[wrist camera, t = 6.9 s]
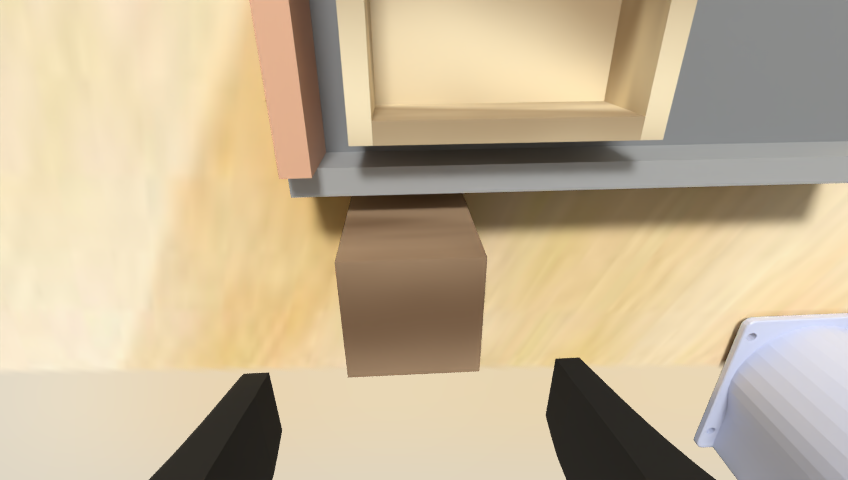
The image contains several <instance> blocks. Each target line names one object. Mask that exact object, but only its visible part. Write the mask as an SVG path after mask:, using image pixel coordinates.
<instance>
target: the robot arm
mask: <svg viewBox="0 0 848 480" xmlns="http://www.w3.org/2000/svg"><path fill="white" fill-rule="evenodd" d="M546 418H547V422H548V426H549V429H550V433H551V437H552V440H553V444H554V447H555V451H556V454H557V457H558V460H559V462H560V465H561V467H562V469H563V472H564V475H565V477H566V480H716V479H714V478H713V477H712V476H710V475H709V474H708V473H707V472H705V471H704V470H703V469H702V468H700V467H699V466H698V465H696V464H695V463H694V462H693V461H692V460H690V459H689V458H688V457H687V456H685V455H684V454H683V453H682V452H681V451H680V450H678V449H677V448H676V447H675V446H674V445H672V444H671V443H670V442H669V441H668V440H667V439H665V438H664V437H663V436H662V435H661V434H660V433H659V432H657V431H656V430H655V429H654V428H653V427H652V426H651V425H649V424H648V423H647V422H646V421H645V420H644V419H643V418H642V417H641V416H640V415H638V414H637V413H636V412H635V411H634V410H633V409H632V408H631V407H630V406H629V405H628V404H627V403H625V402H624V400H622V399H621V398H620V397H619V396H618V395H617V394H616V393H615V392H614V391H613V390H612V389H611V388H610V387H609V386H608V385H607V384H606V383H605V382H604V381H603V380H602V379H601V378H600V377H599V376H598V375H597V374H595V372H593V371H592V370H591V369H590V368H589V367H588V366H587V365H586V364H585V363H584V362H583V361H582V360H581V359H580V358H562V359H556V360H555V366H554V371H553V377H552V383H551V388H550V394H549V400H548V405H547V411H546ZM281 433H282V428H281V423H280V419H279V415H278V411H277V406H276V401H275V397H274V393H273V388H272V384H271V380H270V375H269V373H252V374H243V375H242V376H241V377H240V378H239V380H238V381H237V382H236V383H235V384H234V385H233V386H232V388H231V389H230V390H229V391H228V392H227V394H226V395H225V396H224V397H223V398H222V400H221V401H220V402H219V403H218V404H217V405H216V407H215V408H214V409H213V410H212V411H211V412H210V414H209V415H208V416H207V417H206V418H205V420H203V422H202V423H201V424H200V425H199V426H198V428H196V430H195V431H194V432H193V433H192V434H191V435H190V436H189V437H188V438H187V440H186V441H185V442H184V443H183V444H182V445H181V446H180V448H179V449H178V450H177V451H176V452H175V453H174V454H173V455H172V456H171V457H170V458H169V459H168V460H167V461H166V462H165V464H164V465H163V466H162V467H161V468H160V469H159V470H158V471H157V472H156V473H155V474H154V475H153V476H152V477H151V478H150V479H149V480H272V478H273V475H274V471H275V465H276V460H277V456H278V450H279V444H280V439H281ZM694 441H695V442H696V444H697V445H698V446H699V447H713V448H714V449H715V450H716V451H717V453H718V454H719V456H720V457H721V458H722V460H723V461H724V462H725V464H726V465H727V466H728V468H729V469H730V470H731V472H732V473H733V474H734V476H735V477H736V478H737V480H848V313H839V314H815V315H792V316H768V317H751V318H748V319H746V320H744V321H743V322H742V323H741V325H740V328H739V330H738V332H737V335H736V337H735V340H734V342H733V345H732V347H731V349H730V352H729V354H728V357H727V359H726V362H725V364H724V366H723V369H722V371H721V374H720V376H719V379H718V381H717V383H716V386H715V388H714V391H713V393H712V396H711V398H710V400H709V403H708V405H707V408H706V410H705V413H704V415H703V417H702V420H701V422H700V425H699V427H698V429H697V432H696V434H695V437H694Z"/></svg>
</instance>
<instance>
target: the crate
mask: <svg viewBox="0 0 848 480" xmlns="http://www.w3.org/2000/svg"><path fill="white" fill-rule="evenodd" d="M697 1H698V0H336V7H337V19H338V30H339V42H340V53H341V65H342V76H343V88H344V99H345V111H346V122H347V134H348V145H349V146H388V145H436V144H484V143H532V142H580V141H629V140H663V138H664V133H665V129H666V125H667V121H668V117H669V113H670V109H671V105H672V101H673V97H674V93H675V89H676V85H677V81H678V77H679V73H680V69H681V65H682V61H683V57H684V53H685V49H686V45H687V41H688V37H689V33H690V29H691V25H692V21H693V17H694V13H695V9H696V5H697Z"/></svg>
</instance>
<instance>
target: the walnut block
mask: <svg viewBox="0 0 848 480" xmlns="http://www.w3.org/2000/svg"><path fill="white" fill-rule="evenodd" d="M486 267H487V256H486V253H485V250H484V248H483V245H482V243H481V240H480V238H479V235H478V233H477V230H476V227H475V225H474V222H473V220H472V217H471V215H470V212H469V210H468V207H467V204H466V202H465V199H464V197H463V194H462V193H443V194H405V195H367V196H352V197H351V201H350V205H349V209H348V213H347V217H346V221H345V225H344V228H343V232H342V236H341V240H340V244H339V248H338V252H337V256H336V259H335V270H336V278H337V287H338V295H339V304H340V313H341V321H342V330H343V338H344V347H345V356H346V364H347V373H348V377H366V376H387V375H408V374H428V373H451V372H470V371H471V372H472V371H479V367H480V353H481V338H482V324H483V310H484V296H485V282H486Z"/></svg>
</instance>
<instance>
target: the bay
mask: <svg viewBox="0 0 848 480" xmlns="http://www.w3.org/2000/svg"><path fill="white" fill-rule="evenodd" d="M249 1H250V7H251V13H252V19H253V25H254V31H255V37H256V43H257V49H258V55H259V61H260V67H261V73H262V79H263V85H264V91H265V97H266V103H267V109H268V115H269V121H270V127H271V133H272V139H273V145H274V151H275V157H276V162H277V168H278V174H279V179H288V181H289V187H290V194H291V198H292V197H330V196H367V195H405V194H443V193H481V192H519V191H556V190H594V189H632V188H670V187H707V186H745V185H783V184H821V183H848V0H698V1H697V5H696V9H695V13H694V17H693V21H692V25H691V29H690V33H689V37H688V41H687V45H686V49H685V53H684V57H683V61H682V65H681V69H680V73H679V77H678V81H677V85H676V89H675V93H674V97H673V101H672V105H671V109H670V113H669V117H668V121H667V125H666V129H665V133H664V138H663V140H629V141H580V142H532V143H484V144H436V145H388V146H349V145H348V134H347V122H346V111H345V99H344V88H343V76H342V65H341V53H340V42H339V30H338V19H337V7H336V0H249Z"/></svg>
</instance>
